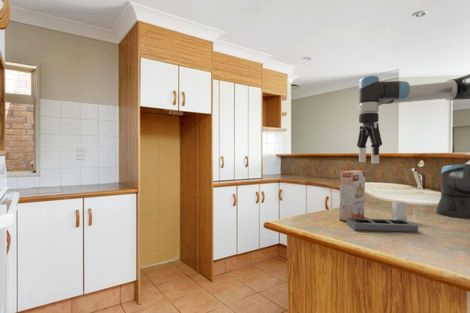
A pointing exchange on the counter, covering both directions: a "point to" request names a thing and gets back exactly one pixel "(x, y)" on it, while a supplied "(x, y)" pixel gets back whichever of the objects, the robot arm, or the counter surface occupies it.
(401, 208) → the block
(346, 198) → the cracker box
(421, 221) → the counter surface
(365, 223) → the grey compartment tray
